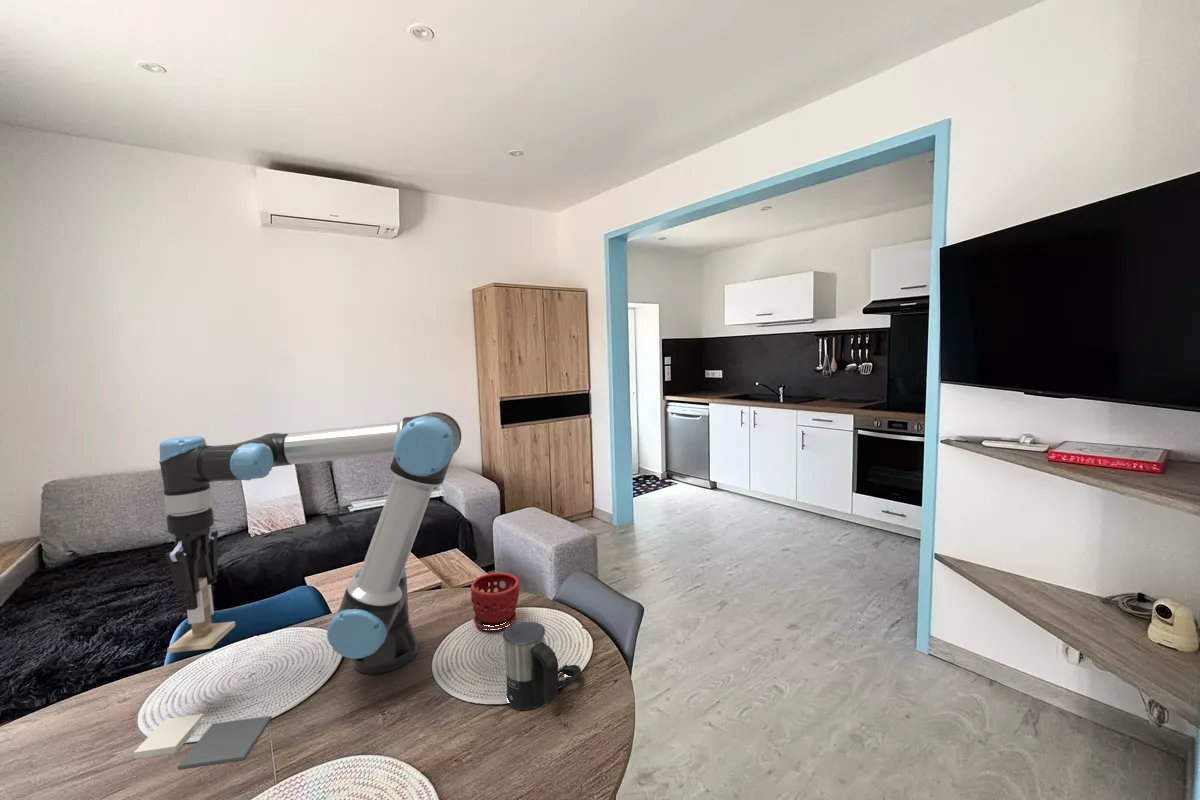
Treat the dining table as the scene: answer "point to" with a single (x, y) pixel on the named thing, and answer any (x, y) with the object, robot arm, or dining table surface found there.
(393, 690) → the dining table surface
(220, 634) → the block tower on stand
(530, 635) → the milk frother
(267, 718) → the rest mat
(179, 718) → the tile
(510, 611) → the plant pot
